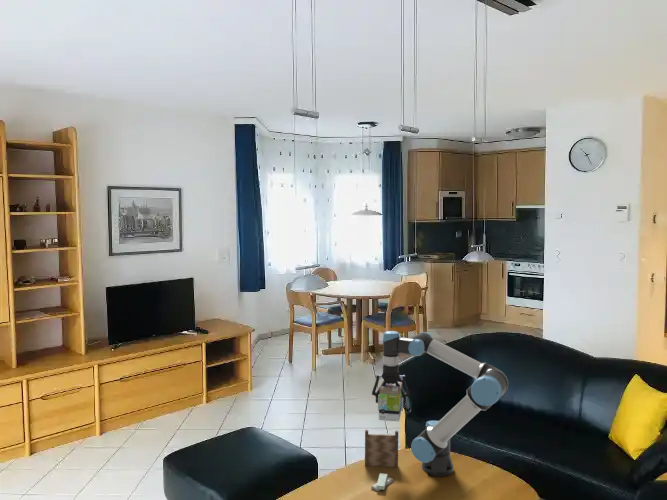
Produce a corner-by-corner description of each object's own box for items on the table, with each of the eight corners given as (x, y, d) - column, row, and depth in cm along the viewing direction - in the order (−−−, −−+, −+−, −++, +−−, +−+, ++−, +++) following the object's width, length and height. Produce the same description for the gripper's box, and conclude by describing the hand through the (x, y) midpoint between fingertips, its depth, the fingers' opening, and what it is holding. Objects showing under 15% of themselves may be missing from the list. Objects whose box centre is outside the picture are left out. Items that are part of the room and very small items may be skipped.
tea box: (399, 422, 256) (400, 390, 255) (378, 420, 258) (378, 389, 257) (402, 410, 271) (402, 381, 270) (381, 409, 273) (381, 379, 272)
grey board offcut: (386, 479, 256) (386, 476, 256) (392, 481, 254) (392, 478, 254) (371, 489, 247) (371, 486, 247) (377, 491, 244) (377, 488, 244)
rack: (397, 466, 270) (398, 430, 269) (397, 468, 268) (398, 432, 267) (364, 465, 271) (365, 429, 270) (364, 467, 269) (365, 431, 268)
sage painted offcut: (379, 476, 256) (379, 473, 256) (387, 477, 255) (387, 474, 255) (376, 488, 244) (376, 485, 244) (384, 489, 243) (384, 486, 243)
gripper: (414, 362, 265) (414, 407, 267) (366, 361, 267) (366, 406, 269) (415, 366, 258) (415, 413, 259) (366, 365, 260) (366, 411, 261)
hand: (390, 409), depth 264 cm, fingers closed on tea box, 10 cm apart
